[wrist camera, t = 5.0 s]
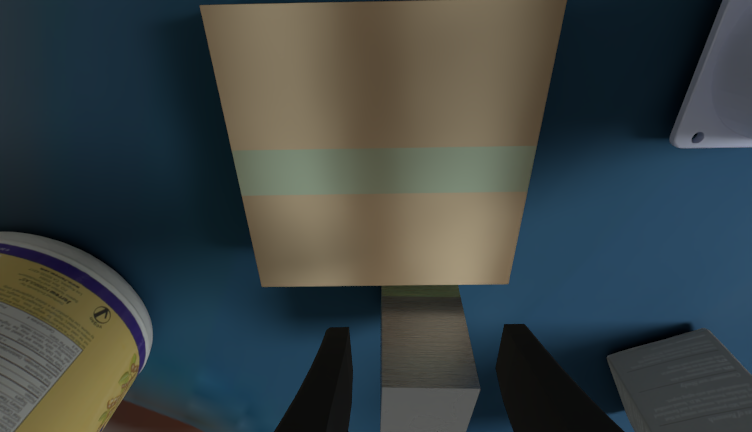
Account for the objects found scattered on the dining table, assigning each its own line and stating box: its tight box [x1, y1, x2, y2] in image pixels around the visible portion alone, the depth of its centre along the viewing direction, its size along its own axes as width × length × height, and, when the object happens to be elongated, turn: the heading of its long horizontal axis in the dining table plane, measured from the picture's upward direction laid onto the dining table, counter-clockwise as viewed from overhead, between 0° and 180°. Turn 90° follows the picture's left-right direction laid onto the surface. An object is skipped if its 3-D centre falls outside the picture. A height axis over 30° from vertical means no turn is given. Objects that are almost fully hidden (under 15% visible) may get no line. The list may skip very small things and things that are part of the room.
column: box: [380, 285, 480, 432], centre depth 19 cm, size 4×4×7 cm
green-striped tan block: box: [200, 0, 567, 287], centre depth 16 cm, size 12×12×3 cm
